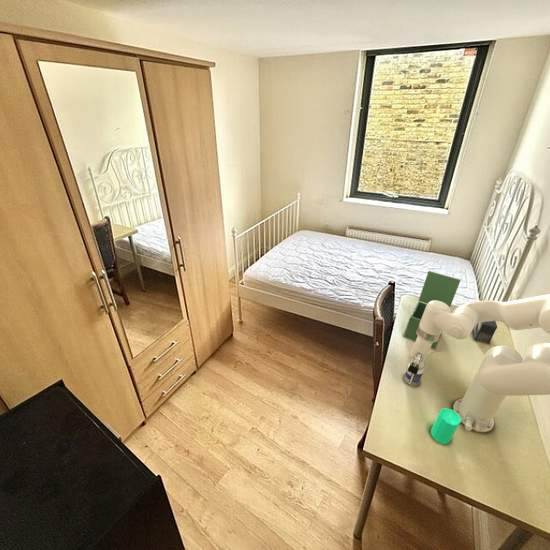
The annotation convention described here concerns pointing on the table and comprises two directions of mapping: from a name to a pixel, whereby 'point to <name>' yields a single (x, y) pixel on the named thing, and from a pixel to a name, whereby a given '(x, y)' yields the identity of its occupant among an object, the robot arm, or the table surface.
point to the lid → (439, 288)
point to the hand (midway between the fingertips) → (415, 364)
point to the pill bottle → (413, 378)
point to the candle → (445, 425)
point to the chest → (416, 322)
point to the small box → (484, 331)
